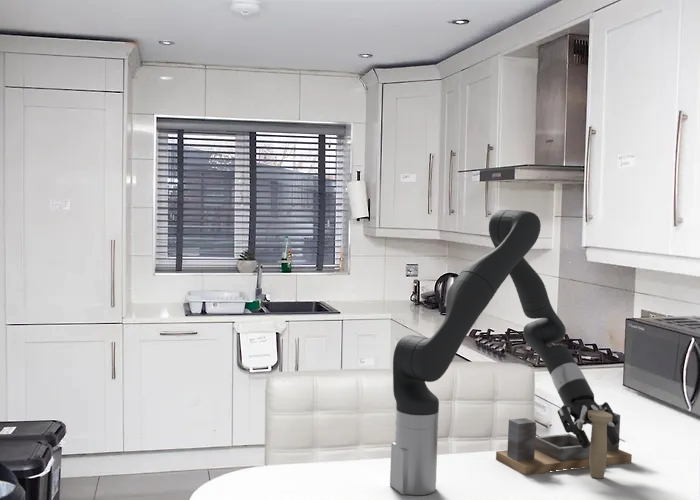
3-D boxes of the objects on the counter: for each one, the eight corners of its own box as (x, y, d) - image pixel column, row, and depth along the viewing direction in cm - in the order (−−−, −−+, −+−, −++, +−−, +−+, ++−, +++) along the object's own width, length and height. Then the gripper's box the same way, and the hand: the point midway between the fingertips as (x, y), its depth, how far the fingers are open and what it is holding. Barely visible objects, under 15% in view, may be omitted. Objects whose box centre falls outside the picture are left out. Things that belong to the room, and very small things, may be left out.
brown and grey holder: (524, 475, 173) (526, 428, 172) (495, 459, 184) (497, 415, 183) (631, 462, 185) (633, 418, 184) (598, 448, 196) (600, 407, 196)
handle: (599, 471, 177) (602, 409, 176) (613, 481, 171) (616, 416, 170) (580, 472, 176) (583, 410, 175) (594, 481, 170) (597, 417, 169)
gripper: (555, 378, 177) (585, 439, 167) (602, 375, 182) (634, 434, 172) (540, 395, 182) (569, 455, 172) (587, 392, 187) (617, 450, 177)
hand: (602, 445), depth 172 cm, fingers open, 8 cm apart
